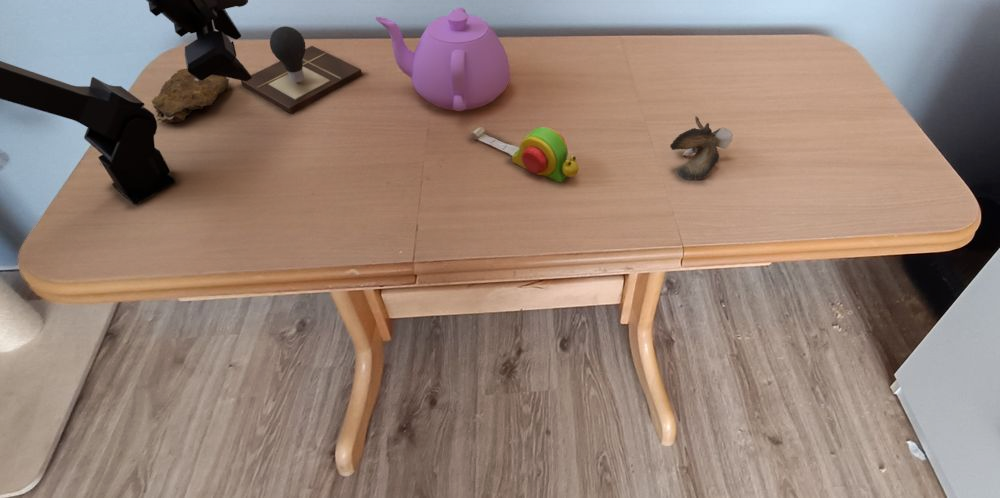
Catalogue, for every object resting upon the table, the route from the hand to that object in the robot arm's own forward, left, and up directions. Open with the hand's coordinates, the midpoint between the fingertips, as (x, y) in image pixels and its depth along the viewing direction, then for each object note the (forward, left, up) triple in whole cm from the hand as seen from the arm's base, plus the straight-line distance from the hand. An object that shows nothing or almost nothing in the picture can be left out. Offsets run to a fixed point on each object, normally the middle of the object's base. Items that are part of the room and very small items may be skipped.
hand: (243, 57), depth 89 cm
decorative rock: (-5, +14, -12) cm, 19 cm away
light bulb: (+10, +4, -10) cm, 15 cm away
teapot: (+26, -17, -12) cm, 33 cm away
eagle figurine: (+35, -60, -12) cm, 71 cm away
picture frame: (+12, +6, -12) cm, 18 cm away
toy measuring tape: (+19, -39, -12) cm, 45 cm away
